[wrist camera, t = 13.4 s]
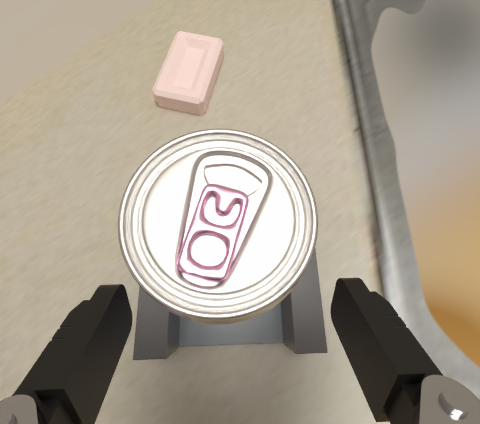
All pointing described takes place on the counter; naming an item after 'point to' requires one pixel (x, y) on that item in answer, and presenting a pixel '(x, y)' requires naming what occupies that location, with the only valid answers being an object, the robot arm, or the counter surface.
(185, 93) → the soap bar
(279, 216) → the beverage can
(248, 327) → the duct channel
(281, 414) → the counter surface
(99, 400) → the robot arm
